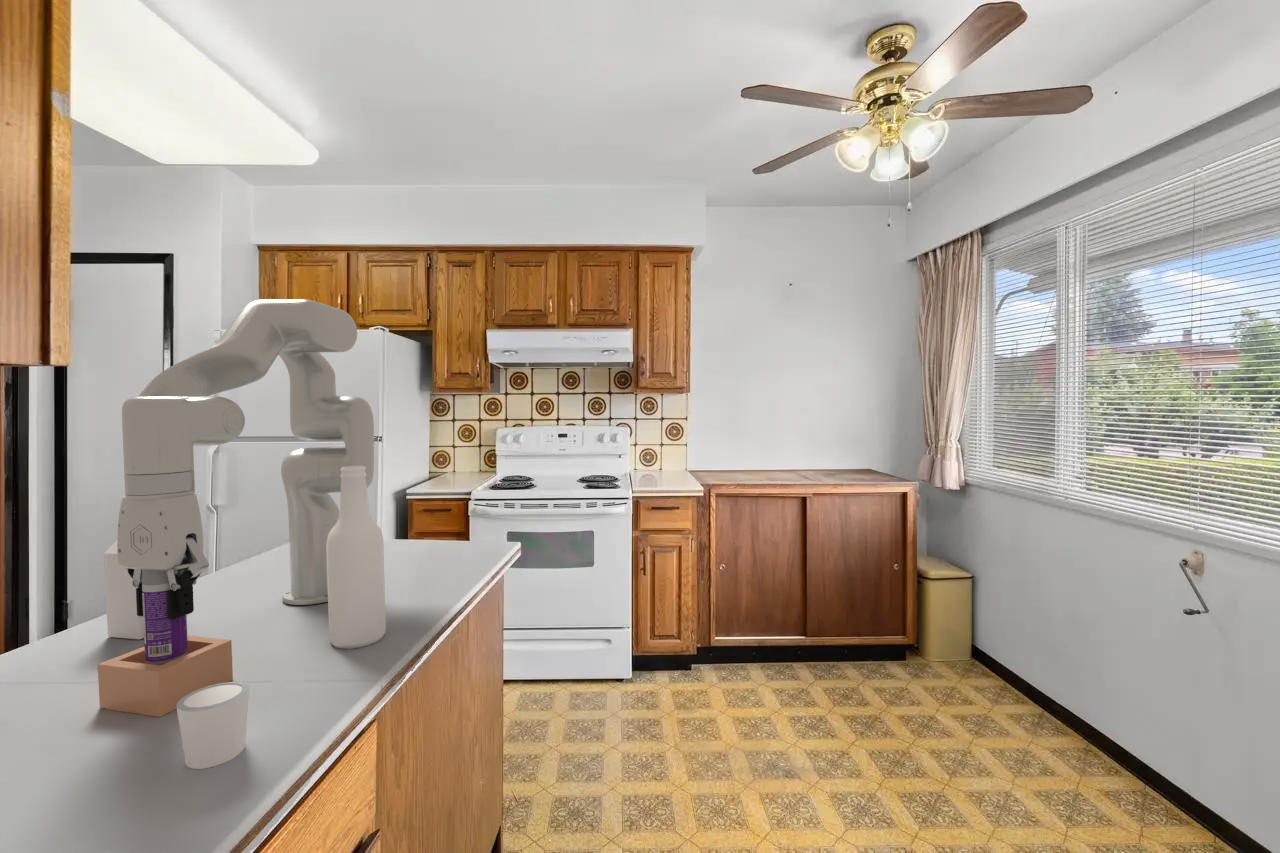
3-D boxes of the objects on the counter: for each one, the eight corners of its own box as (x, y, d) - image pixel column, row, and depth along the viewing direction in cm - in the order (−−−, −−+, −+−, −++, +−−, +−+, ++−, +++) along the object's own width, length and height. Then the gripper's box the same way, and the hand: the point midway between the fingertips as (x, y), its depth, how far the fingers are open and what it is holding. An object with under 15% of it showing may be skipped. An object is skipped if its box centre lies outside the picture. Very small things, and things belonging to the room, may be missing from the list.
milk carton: (139, 640, 101) (135, 532, 100) (107, 637, 102) (102, 530, 101) (179, 625, 108) (175, 523, 107) (148, 622, 109) (144, 522, 108)
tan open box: (177, 673, 88) (176, 634, 88) (232, 679, 86) (231, 640, 85) (99, 708, 78) (97, 664, 78) (159, 717, 76) (157, 671, 75)
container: (196, 653, 83) (192, 549, 82) (159, 667, 79) (155, 557, 78) (173, 649, 84) (169, 547, 84) (136, 662, 80) (132, 555, 80)
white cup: (204, 738, 71) (202, 682, 70) (263, 735, 71) (261, 679, 71) (162, 774, 64) (160, 712, 63) (228, 770, 64) (226, 708, 64)
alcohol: (318, 650, 96) (312, 469, 95) (347, 629, 105) (342, 464, 104) (370, 650, 96) (365, 469, 94) (395, 629, 104) (390, 463, 103)
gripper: (83, 487, 79) (89, 619, 80) (181, 490, 75) (186, 629, 76) (142, 480, 86) (147, 601, 87) (234, 482, 82) (238, 609, 83)
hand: (165, 613), depth 81 cm, fingers closed on container, 4 cm apart
